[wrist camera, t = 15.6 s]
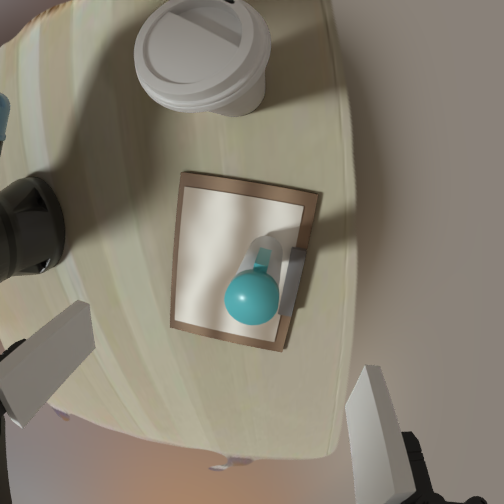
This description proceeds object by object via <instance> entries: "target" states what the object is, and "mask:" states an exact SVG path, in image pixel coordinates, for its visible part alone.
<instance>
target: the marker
mask: <svg viewBox="0 0 504 504" xmlns="http://www.w3.org/2000/svg"><path fill="white" fill-rule="evenodd" d="M282 256H283V250H282V246H281V244H280V243H279V242H278V241H277V240H276V239H275V238H273V237H270V236H261V237H258V238H256V239H255V240H253V241H252V243H251V244H250V246H249V248H248V250H247V252H246V254H245V256H244V259H243V261H242V263H241V265H240V267H239V269H238V271H237V273H236V275H235V276H234V278H233V279H232V280H231V282H230V284H229V286H228V288H227V290H226V292H225V297H224V302H225V307H226V309H227V311H228V313H229V314H230V315H231V316H232V317H233V318H234V319H235V320H237V321H238V322H240V323H243V324H246V325H260V324H263V323H266V322H268V321H269V320H270V319H272V318H273V316H274V315H275V314H276V312H277V309H278V305H279V295H280V293H279V284H280V275H281V266H282Z"/></svg>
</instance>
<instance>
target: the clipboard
mask: <svg viewBox="0 0 504 504" xmlns="http://www.w3.org/2000/svg"><path fill="white" fill-rule="evenodd" d="M317 199H318V194H315V193H310V192H305V191H300V190H294V189H289V188H284V187H278V186H273V185H267V184H261V183H255V182H249V181H243V180H237V179H230V178H223V177H216V176H209V175H202V174H195V173H187V172H181V176H180V185H179V194H178V204H177V214H176V225H175V237H174V250H173V266H172V284H171V310H170V327H171V328H175V329H178V330H182V331H186V332H190V333H194V334H198V335H202V336H206V337H210V338H215V339H219V340H223V341H228V342H232V343H237V344H242V345H247V346H251V347H256V348H262V349H267V350H272V351H278V352H282V351H283V347H284V343H285V339H286V335H287V332H288V328H289V324H290V320H291V316H292V312H293V308H294V304H295V300H296V296H297V292H298V287H299V283H300V279H301V274H302V270H303V266H304V261H305V257H306V252H307V248H308V243H309V238H310V234H311V229H312V224H313V219H314V214H315V209H316V204H317ZM261 236H270V237H273V238H275V239H276V240H277V241H278V242H279V243H280V244H281V246H282V250H283V256H282V266H281V275H280V284H279V293H280V295H279V305H278V309H277V312H276V314H275V315H274V316H273V318H272V319H270V320H269V321H268V322H266V323H263V324H260V325H246V324H243V323H240V322H238V321H237V320H235V319H234V318H233V317H232V316H231V315H230V314H229V313H228V311H227V309H226V307H225V302H224V297H225V292H226V290H227V288H228V286H229V284H230V282H231V280H232V279H233V278H234V276H235V275H236V273H237V271H238V269H239V267H240V265H241V263H242V261H243V259H244V256H245V254H246V252H247V250H248V248H249V246H250V244H251V243H252V241H253V240H255V239H256V238H258V237H261Z"/></svg>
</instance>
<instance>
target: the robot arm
mask: <svg viewBox="0 0 504 504" xmlns="http://www.w3.org/2000/svg"><path fill="white" fill-rule="evenodd" d="M9 112H10V102H9V99H8V98H7V97H6V96H5V95H4V94H2V93H0V155H1V150H2V145H3V141H4V140H5V139H6V135H5V132H6V126H7V122H8V117H9ZM64 240H65V230H64V221H63V216H62V212H61V208H60V205H59V203H58V200H57V198H56V196H55V194H54V192H53V191H52V189H51V188H50V187H49V186H48V185H47V184H46V183H45V182H44V181H43V180H41V179H39V178H36V177H28V178H22V179H19V180H16V181H14V182H13V183H11V184H10V185H9V186H7V187H6V188H4V189H3V190H2V191H0V283H1V282H2V281H4V280H6V279H8V278H10V277H11V276H22V275H36V274H41V273H43V272H45V271H47V270H49V269H51V268H52V267H54V266H55V265H56V264H57V262H58V261H59V259H60V257H61V255H62V252H63V247H64ZM94 349H95V342H94V336H93V329H92V322H91V314H90V305H89V304H88V303H85V302H83V301H80V300H77V301H76V302H74V303H73V304H72V305H70V306H69V307H68V308H66V309H65V310H64V311H63V312H61V313H60V314H59V315H57V316H56V317H55V318H53V319H52V320H51V321H50V322H48V323H47V324H46V325H45V326H43V327H42V328H41V329H40V330H38V331H37V332H36V333H35V334H33V335H32V336H31V337H30V338H28V339H27V340H26V339H22V340H20V341H18V342H15V343H14V344H13V345H11V346H10V347H9V348H8V350H5V351H4V352H3V353H2V355H0V504H12V500H11V494H10V487H9V479H8V470H7V459H6V442H5V418H4V416H3V415H4V413H5V412H7V413H8V415H9V417H10V419H11V420H12V421H13V422H14V423H16V424H17V425H18V426H20V427H21V428H22V429H23V428H24V427H25V426H26V425H27V424H28V422H29V421H30V420H31V419H32V418H33V417H34V415H35V414H36V413H37V412H38V411H39V409H40V408H41V407H42V406H43V405H44V404H45V403H46V402H47V400H48V399H49V398H50V397H51V396H52V395H53V394H54V393H55V391H56V390H57V389H58V388H59V387H60V386H61V385H62V384H63V383H64V381H65V380H66V379H67V378H68V377H69V376H70V375H71V374H72V373H73V372H74V370H75V369H76V368H77V367H78V366H79V365H80V364H81V363H82V362H83V361H84V360H85V359H86V358H87V356H88V355H89V354H90V353H91V352H92V351H93V350H94ZM345 410H346V417H347V424H348V431H349V440H350V447H351V456H352V465H353V475H354V485H355V496H356V504H487V502H486V501H485V500H484V499H483V498H481V497H479V496H474V497H471V498H469V499H468V500H467V501H466V502H464V503H456V502H447V501H445V500H444V498H443V497H442V496H441V495H439V494H437V493H434V491H433V489H432V485H431V482H430V478H429V475H428V470H427V467H426V464H425V461H424V457H423V453H421V451H422V450H421V447H420V444H419V441H418V439H417V438H416V437H415V435H414V434H413V433H412V432H401V430H400V427H399V423H398V420H397V417H396V413H395V410H394V407H393V404H392V400H391V397H390V394H389V391H388V388H387V385H386V382H385V379H384V376H383V373H382V370H381V367H380V366H374V365H365V366H364V368H363V370H362V372H361V374H360V377H359V379H358V381H357V383H356V385H355V387H354V389H353V391H352V393H351V395H350V397H349V399H348V401H347V403H346V405H345Z"/></svg>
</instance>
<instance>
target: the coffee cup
mask: <svg viewBox="0 0 504 504" xmlns="http://www.w3.org/2000/svg"><path fill="white" fill-rule="evenodd" d="M270 52H271V36H270V32H269V29H268V26H267V24H266V22H265V20H264V19H263V17H262V16H261V15H260V14H259V12H258V11H257V10H255V9H254V8H253V7H252V6H251V5H249V4H248V3H247V2H245V1H243V0H169V1H168V2H166V3H164V4H163V5H161V6H160V7H159V8H158V9H156V10H155V11H154V12H153V13H152V14H151V15H150V16H149V17H148V19H147V20H146V21H145V23H144V24H143V26H142V27H141V29H140V31H139V33H138V35H137V38H136V41H135V46H134V62H135V69H136V73H137V76H138V79H139V81H140V83H141V85H142V87H143V88H144V90H145V91H146V92H147V94H148V95H149V96H150V97H151V98H152V99H153V100H154V101H156V102H157V103H159V104H160V105H162V106H164V107H166V108H168V109H171V110H175V111H179V112H187V113H196V112H205V111H209V112H213V113H217V114H221V115H225V116H229V117H239V116H243V115H246V114H248V113H250V112H252V111H253V110H255V109H256V108H257V107H258V106H259V105H260V103H261V102H262V100H263V98H264V95H265V88H266V87H265V68H266V66H267V63H268V60H269V57H270Z"/></svg>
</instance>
